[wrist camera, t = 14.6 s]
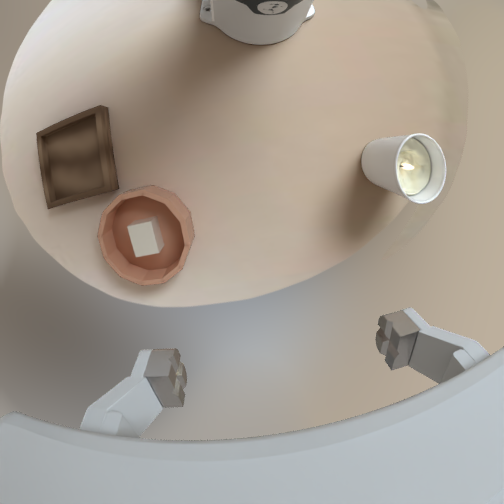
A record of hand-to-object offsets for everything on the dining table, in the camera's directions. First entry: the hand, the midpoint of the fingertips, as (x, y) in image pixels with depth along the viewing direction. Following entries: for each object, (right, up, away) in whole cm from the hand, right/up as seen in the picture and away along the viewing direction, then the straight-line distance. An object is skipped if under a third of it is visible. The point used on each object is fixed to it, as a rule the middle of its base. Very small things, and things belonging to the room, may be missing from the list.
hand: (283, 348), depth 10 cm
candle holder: (+21, +19, +31) cm, 42 cm away
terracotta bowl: (-18, +7, +32) cm, 38 cm away
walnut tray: (-31, +20, +27) cm, 45 cm away
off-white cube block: (-18, +7, +32) cm, 37 cm away
